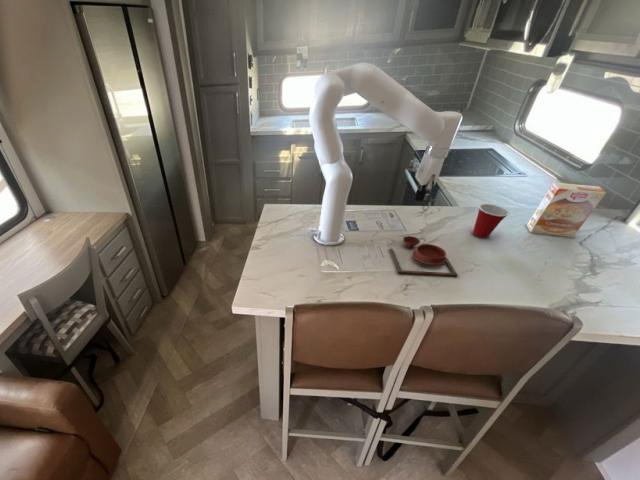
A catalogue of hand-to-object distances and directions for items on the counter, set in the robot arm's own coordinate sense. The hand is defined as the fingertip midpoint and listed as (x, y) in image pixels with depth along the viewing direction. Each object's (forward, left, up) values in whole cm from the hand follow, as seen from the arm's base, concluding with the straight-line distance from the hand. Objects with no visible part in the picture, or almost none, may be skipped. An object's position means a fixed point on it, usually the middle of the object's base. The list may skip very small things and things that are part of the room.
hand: (418, 199), depth 126 cm
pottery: (+2, -14, -17) cm, 22 cm away
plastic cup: (+32, +5, -17) cm, 37 cm away
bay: (+1, -19, -17) cm, 26 cm away
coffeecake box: (+61, +10, -17) cm, 64 cm away
